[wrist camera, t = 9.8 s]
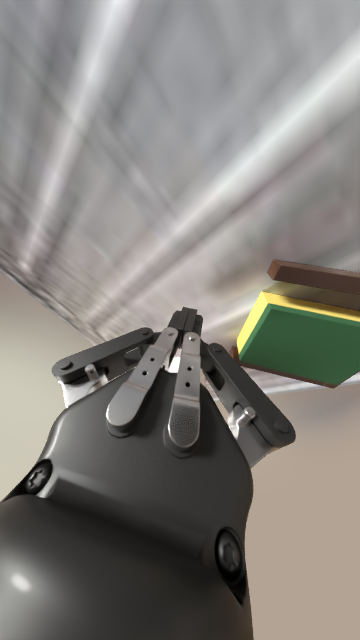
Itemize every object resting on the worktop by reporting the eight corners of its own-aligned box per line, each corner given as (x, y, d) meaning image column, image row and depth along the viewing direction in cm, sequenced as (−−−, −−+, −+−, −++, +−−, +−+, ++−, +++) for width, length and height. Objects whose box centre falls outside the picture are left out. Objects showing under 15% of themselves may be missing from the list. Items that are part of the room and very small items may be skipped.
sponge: (261, 291, 14) (271, 308, 11) (371, 313, 13) (411, 337, 10) (236, 340, 18) (239, 361, 16) (318, 359, 17) (337, 385, 15)
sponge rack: (273, 259, 12) (281, 265, 11) (436, 284, 11) (473, 295, 9) (229, 352, 20) (230, 363, 18) (323, 374, 18) (333, 388, 17)
